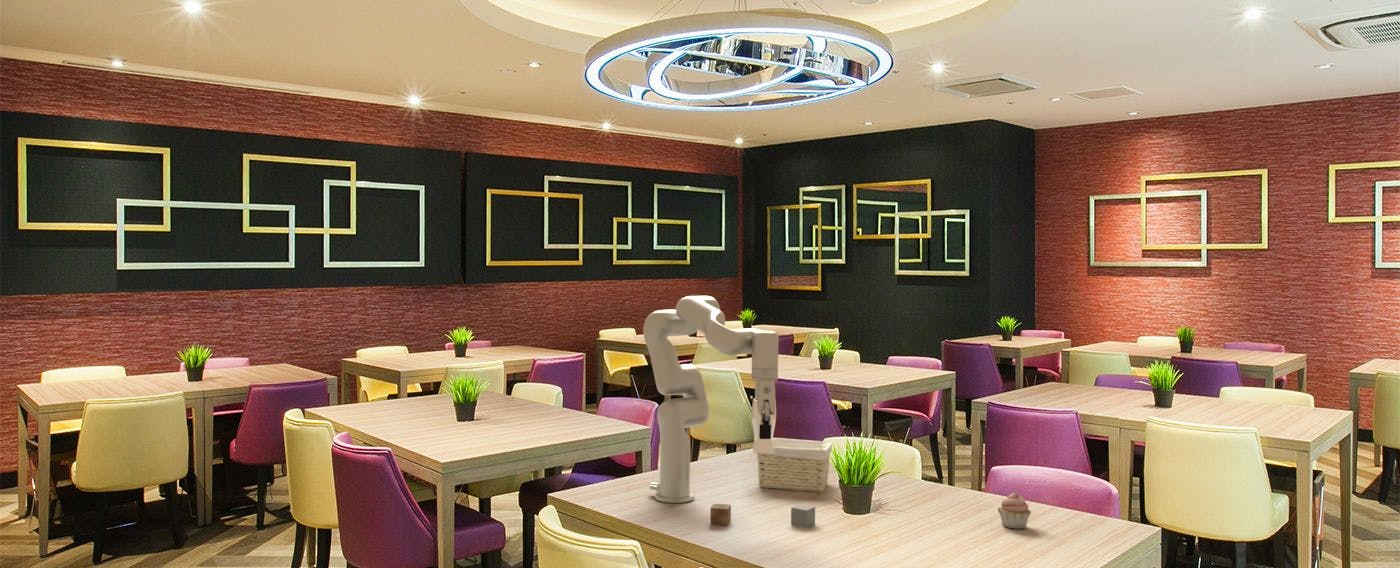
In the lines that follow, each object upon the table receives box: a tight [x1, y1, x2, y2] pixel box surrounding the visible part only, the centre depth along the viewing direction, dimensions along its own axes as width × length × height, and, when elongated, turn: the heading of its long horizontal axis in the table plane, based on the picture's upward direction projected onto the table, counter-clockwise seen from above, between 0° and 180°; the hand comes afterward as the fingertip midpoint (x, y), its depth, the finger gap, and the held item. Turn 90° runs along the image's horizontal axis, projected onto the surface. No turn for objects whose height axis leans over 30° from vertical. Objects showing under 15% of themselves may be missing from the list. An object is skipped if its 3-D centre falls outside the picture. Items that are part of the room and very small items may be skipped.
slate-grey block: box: [790, 503, 816, 529], centre depth 263 cm, size 5×5×5 cm
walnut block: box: [709, 503, 732, 527], centre depth 263 cm, size 5×5×5 cm
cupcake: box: [997, 492, 1032, 530], centre depth 263 cm, size 9×9×10 cm
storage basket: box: [756, 437, 833, 493], centre depth 309 cm, size 24×16×15 cm
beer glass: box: [751, 397, 777, 454], centre depth 262 cm, size 7×7×15 cm
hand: (763, 435), depth 262 cm, fingers closed on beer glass, 6 cm apart
